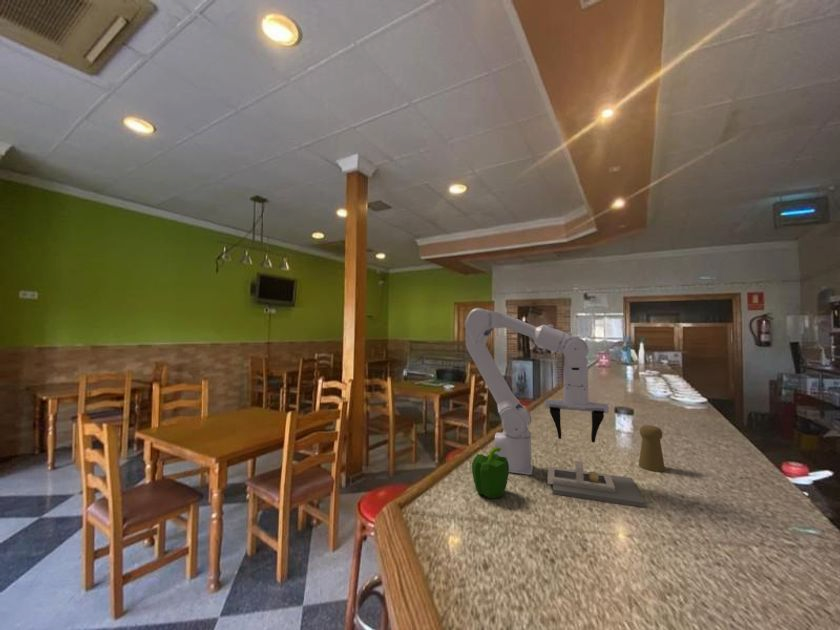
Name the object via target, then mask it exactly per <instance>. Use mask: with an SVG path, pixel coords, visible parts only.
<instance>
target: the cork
mask: <svg viewBox="0 0 840 630" xmlns="http://www.w3.org/2000/svg"><path fill="white" fill-rule="evenodd" d="M639 434H640V436H641V444H640V452H639V453H640V454H639V459H638V461H639V462H638V467H639V468H641V469H643V470H646V471H650V472H657V473H661V472H666V468H665V467H666V466H665V461H664V460H665V459H664V456H663V450H662V443H661V439H662V438H663V431H662V429H661V428H660V427H658V426H654V425H648V424H647V425H642V426H641V427H640V428H639Z"/></svg>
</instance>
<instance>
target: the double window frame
mask: <svg viewBox="0 0 840 630" xmlns="http://www.w3.org/2000/svg"><path fill="white" fill-rule="evenodd" d="M574 468H575V469H568V468H561V467H554V466H548V467H547V485H553V484H554V485H561V486H568V487H575V488H582V489H589V490H596V491H603V492H610V493H615V486H614V484H613V481H612V478H611V476H610V475H611V474H609V473H601V472H597V473H598V478H599V480H600V481H604V483H605V484H603V483H596V482H588V481H584V480H583V478H585V479H589V472H590V471H586V470H585V471H584V465H583V461H582V460H574ZM555 475H562V476H570V477H575V479H576V480H573V479H566V478H558V477H555Z"/></svg>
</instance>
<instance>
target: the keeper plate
mask: <svg viewBox="0 0 840 630" xmlns="http://www.w3.org/2000/svg"><path fill="white" fill-rule="evenodd" d="M588 472H589V479H585V478H583V480H584V481H588V482H596V483H603V484H605V483H604V481H600V480H599V478H598V473H599V472H595V471H588ZM610 476H611V478H612V481H613V484H614V486H615V493H610V492H603V491H596V490H589V489H582V488H575V487H568V486H561V485H554V484H552V494H553V495H559V496H564V497H570V498H571V497H572V498H579V499H585V500H591V501H598V502H604V503H605V502H606V503H612V504H618V505H624V506H625V505H626V506H630V507H631V506H632V507H638V508H643V509H644V508H646V502H645V500H644V498H643V496H642V494H641V493H640V490H639V488H638V487H637V485H636V483H635V481H634V480H633V477H630V476H628V477H627V476H620V475H612V474H610ZM555 477H558V478H566V479H573V480H576V479H575V477H570V476H562V475H555Z"/></svg>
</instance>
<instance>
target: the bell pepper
mask: <svg viewBox="0 0 840 630" xmlns="http://www.w3.org/2000/svg"><path fill="white" fill-rule="evenodd" d="M500 450H501V448H499V447H495V448H494V447H492V449H490V451H489V454H487V455H484V454H481V453H477V454H476V455H475V457H474V458H473V460H472V462H471V473H472V478H473V483H474V486H475V491H476V492H477V493H478V494H479V495H482V494H484V495H483V496H485V497H486V498H488V499H499V498H501V497H502V496H503V494H504V493H505V490H506V489H507V484H508V480H509V476H510V475H509V473H510V472H509V465H508V461H507V458H506V457H500V456H499V455H497V454H494V453H495V452H496V451H498V452H499V451H500Z"/></svg>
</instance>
